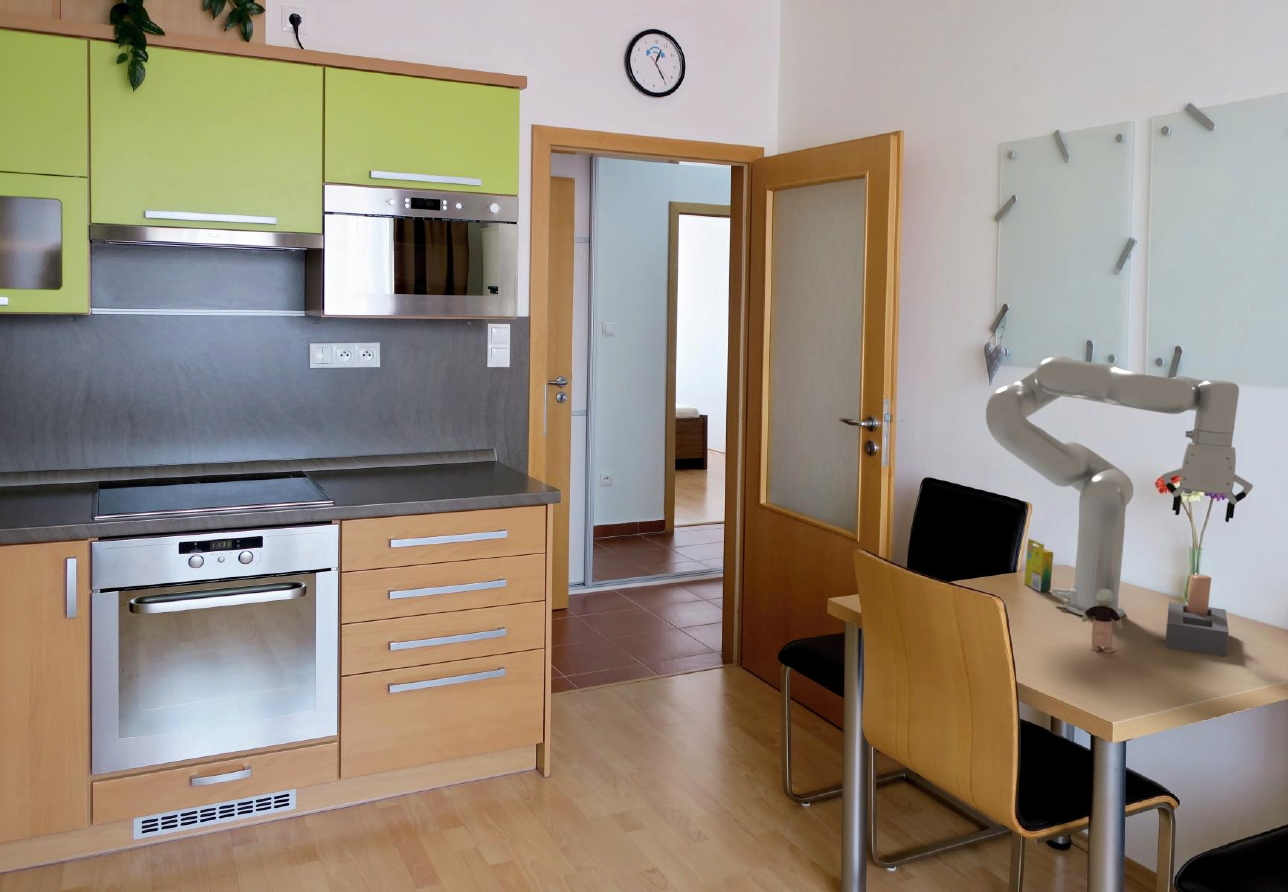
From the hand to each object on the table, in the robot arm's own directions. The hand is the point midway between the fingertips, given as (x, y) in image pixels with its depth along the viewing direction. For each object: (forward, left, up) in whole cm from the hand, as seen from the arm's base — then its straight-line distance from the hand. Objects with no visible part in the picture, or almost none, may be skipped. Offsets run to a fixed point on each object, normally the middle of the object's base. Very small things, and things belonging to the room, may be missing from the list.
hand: (1201, 517), depth 234 cm
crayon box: (-34, +16, -25) cm, 45 cm away
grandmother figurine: (-17, -27, -25) cm, 40 cm away
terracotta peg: (+1, -5, -23) cm, 23 cm away
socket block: (+1, -9, -24) cm, 26 cm away
